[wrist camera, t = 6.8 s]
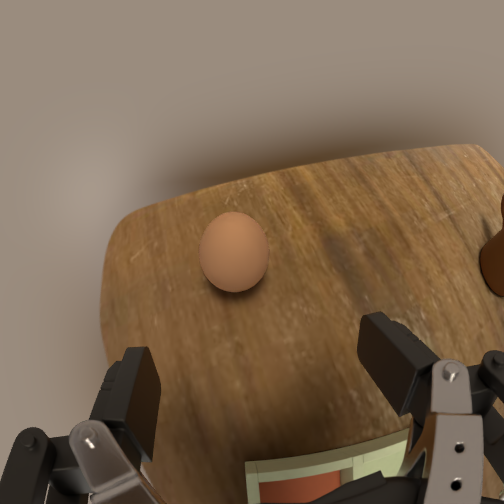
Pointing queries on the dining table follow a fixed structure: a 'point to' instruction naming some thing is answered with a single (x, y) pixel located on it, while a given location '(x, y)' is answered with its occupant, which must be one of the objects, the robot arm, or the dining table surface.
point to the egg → (234, 252)
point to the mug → (494, 260)
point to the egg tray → (322, 470)
